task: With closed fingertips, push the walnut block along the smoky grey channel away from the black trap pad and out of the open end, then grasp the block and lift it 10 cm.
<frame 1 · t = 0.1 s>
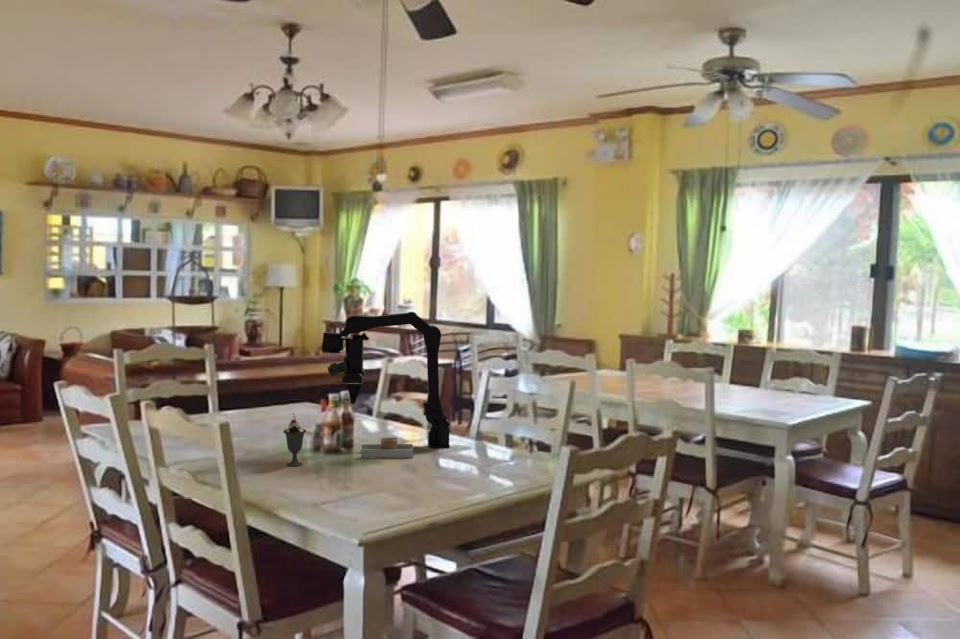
hand: (353, 401, 276), 15 cm above the table, fingers open, 9 cm apart
sundae: (294, 465, 249), on the table
channel: (387, 454, 265), on the table
block: (388, 455, 265), on the table
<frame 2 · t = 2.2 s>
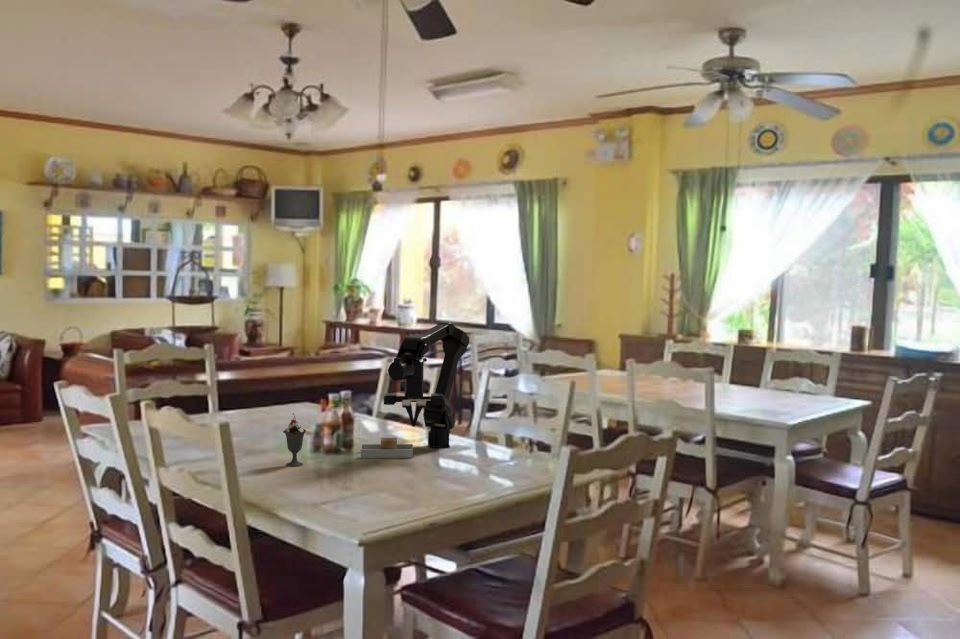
hand: (413, 426, 265), 9 cm above the table, fingers closed
nothing on the table moved.
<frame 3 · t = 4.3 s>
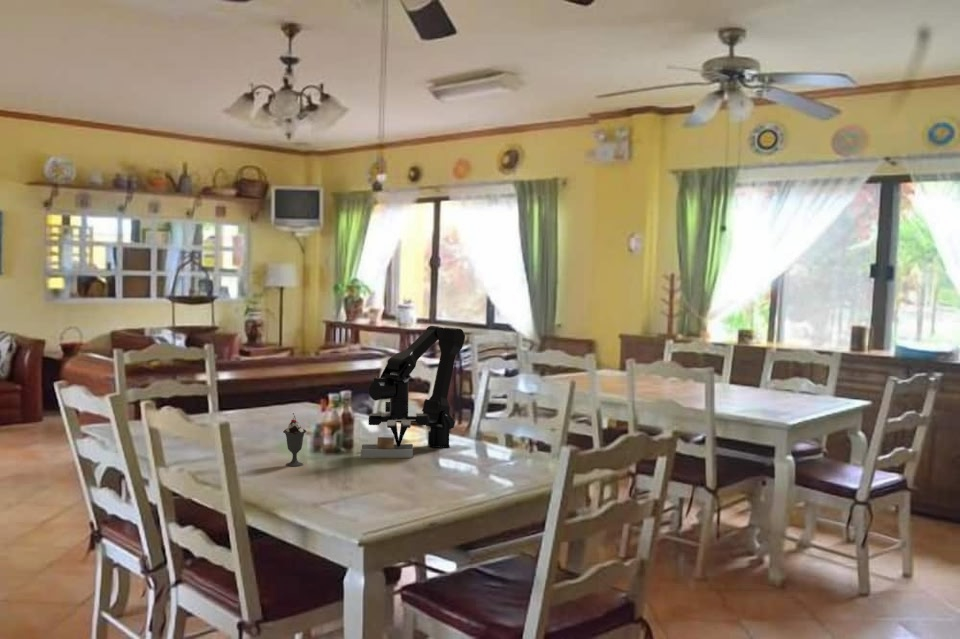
hand: (398, 446, 265), 3 cm above the table, fingers closed
block: (385, 454, 265), on the table, touching gripper
everything else where it was.
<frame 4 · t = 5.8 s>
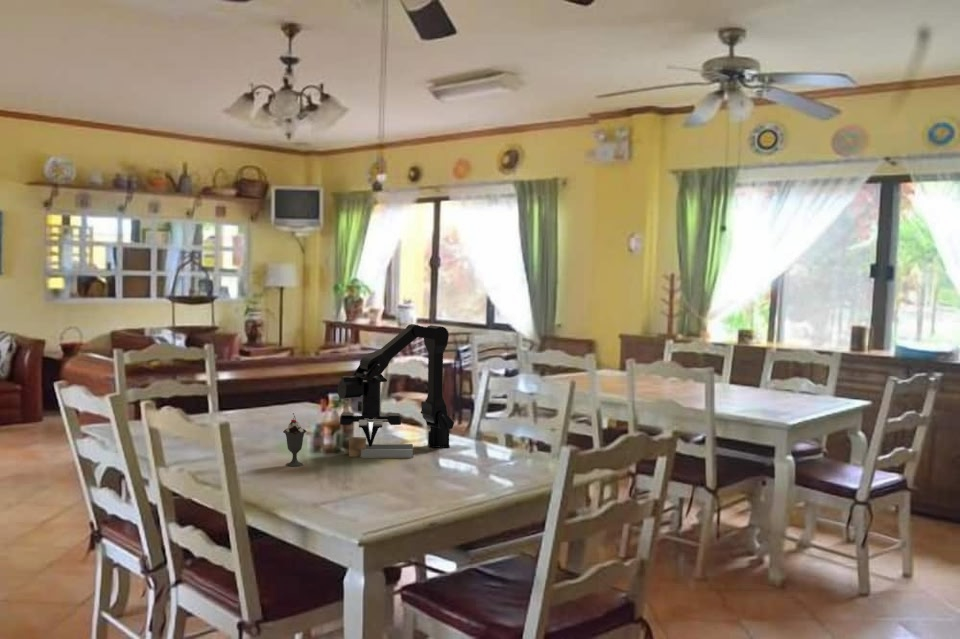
hand: (370, 446, 264), 3 cm above the table, fingers closed
block: (357, 454, 264), on the table, touching gripper
everything else where it was.
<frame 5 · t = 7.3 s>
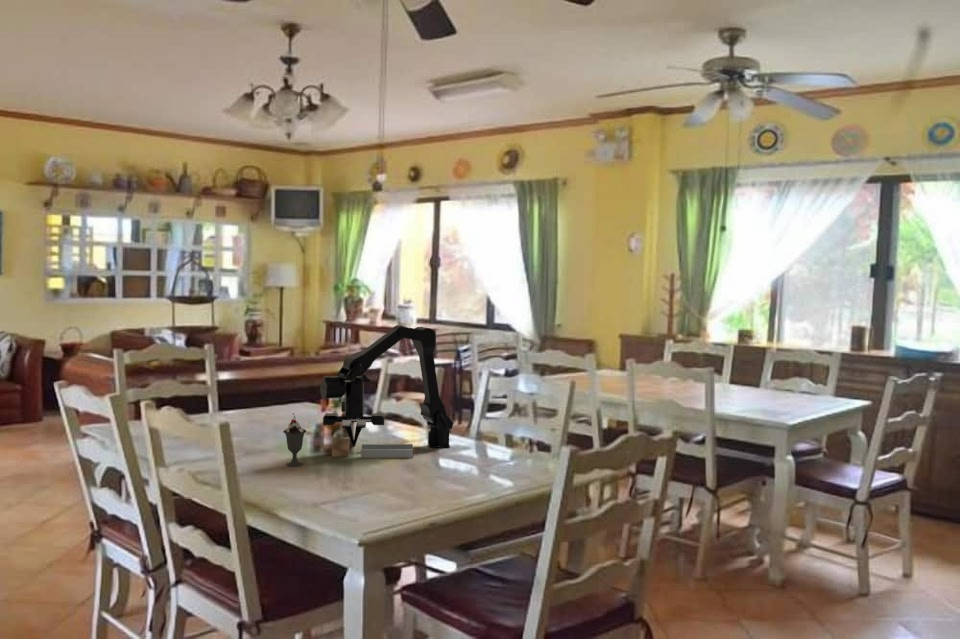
hand: (353, 446, 264), 3 cm above the table, fingers closed
block: (340, 454, 264), on the table, touching gripper
everything else where it was.
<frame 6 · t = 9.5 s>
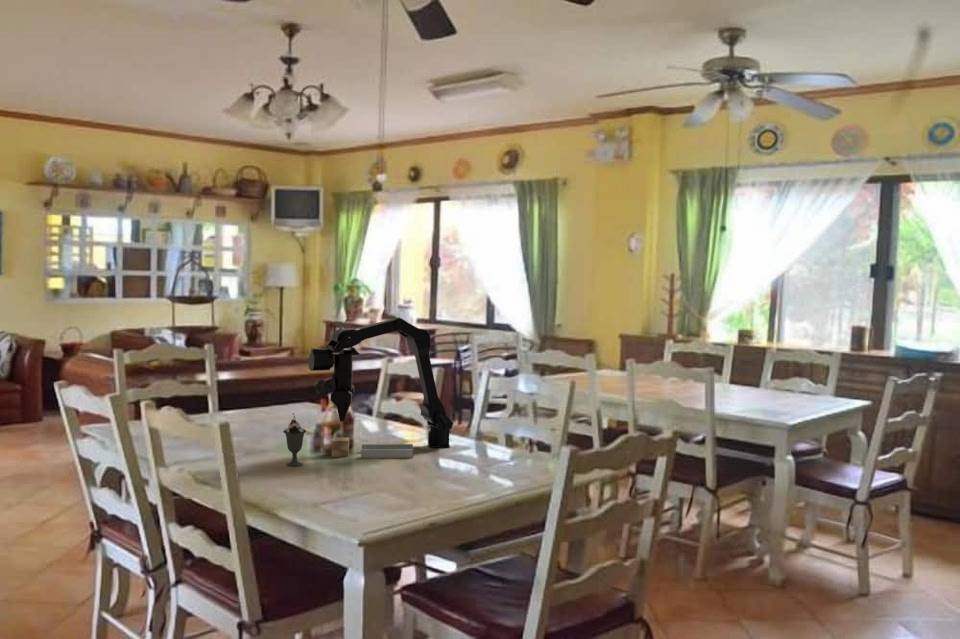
hand: (342, 419, 263), 11 cm above the table, fingers open, 6 cm apart
block: (340, 455, 264), on the table
everything else where it was.
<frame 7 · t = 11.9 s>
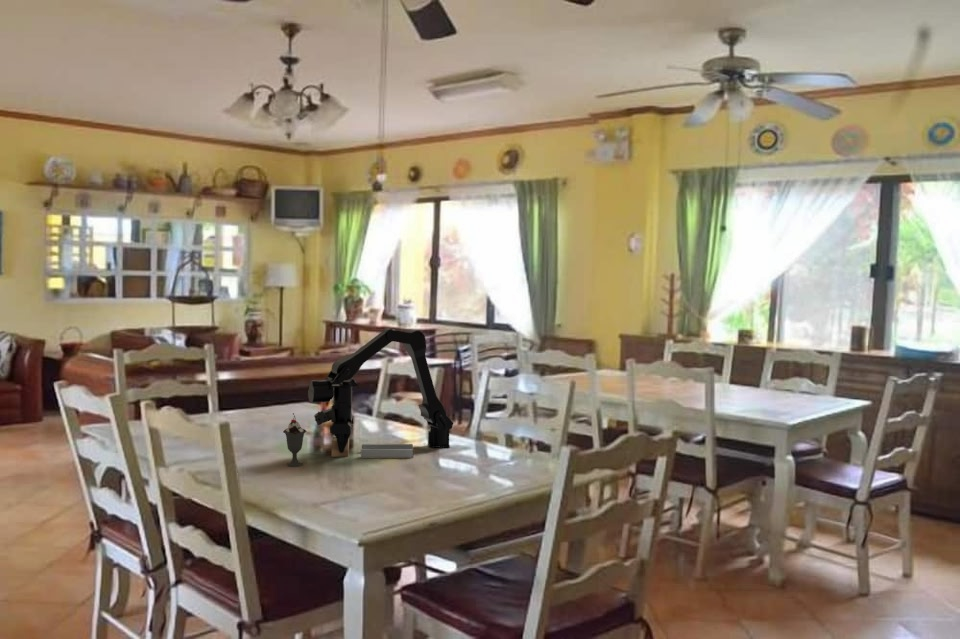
hand: (341, 450, 263), 1 cm above the table, fingers closed on block, 5 cm apart
block: (340, 454, 263), on the table, touching gripper
everything else where it was.
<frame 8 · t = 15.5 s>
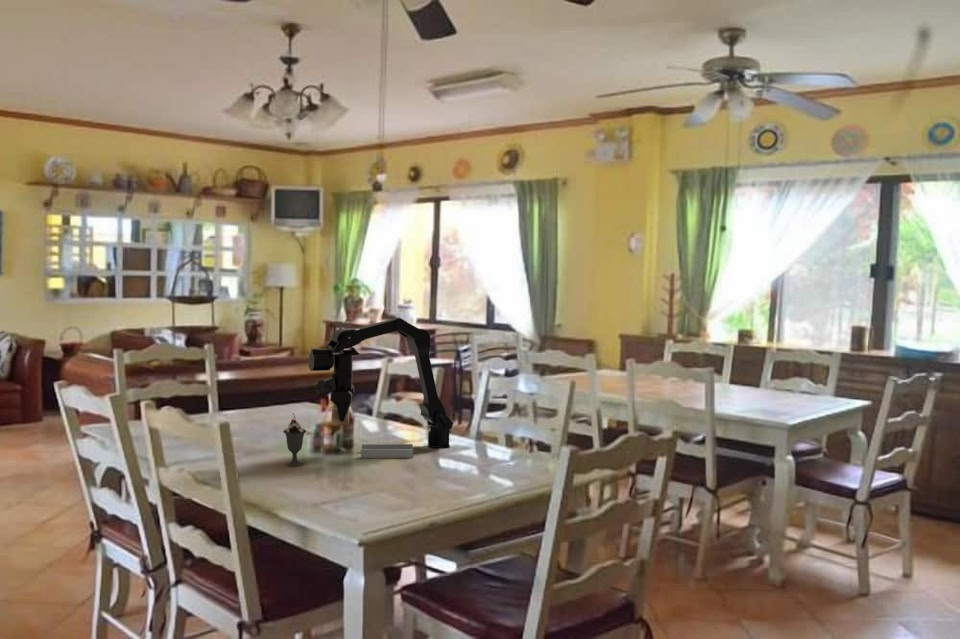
hand: (342, 419, 263), 11 cm above the table, fingers closed on block, 5 cm apart
block: (340, 423, 263), point 10 cm above the table, touching gripper
everything else where it was.
at the end: block inside the target area (0.0 cm from its centre), point 9.7 cm above the table; the gripper is holding block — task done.
